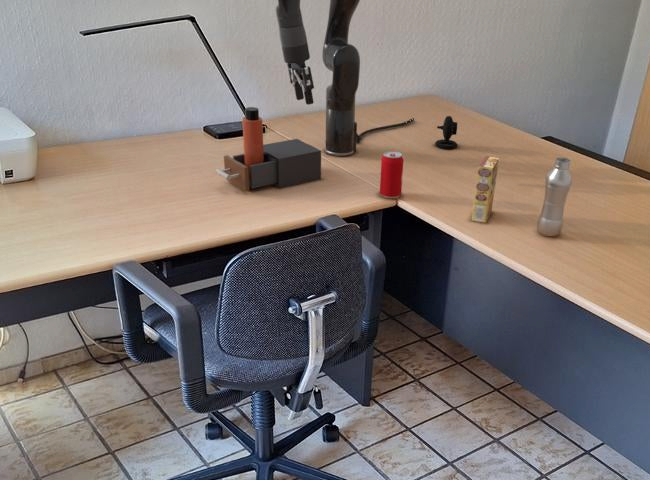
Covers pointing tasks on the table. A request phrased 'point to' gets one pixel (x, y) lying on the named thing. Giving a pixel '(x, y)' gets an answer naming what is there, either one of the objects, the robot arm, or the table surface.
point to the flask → (252, 137)
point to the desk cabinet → (295, 162)
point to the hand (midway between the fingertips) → (305, 101)
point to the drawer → (258, 172)
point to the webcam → (447, 134)
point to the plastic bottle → (555, 198)
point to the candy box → (485, 189)
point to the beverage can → (391, 174)
